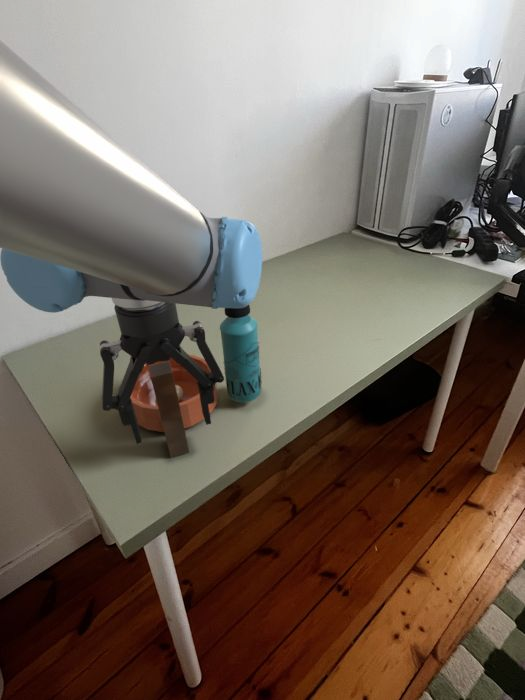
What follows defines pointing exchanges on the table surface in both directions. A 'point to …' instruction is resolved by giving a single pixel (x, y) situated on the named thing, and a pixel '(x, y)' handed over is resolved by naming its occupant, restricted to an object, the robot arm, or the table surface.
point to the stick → (169, 408)
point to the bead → (179, 392)
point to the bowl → (189, 403)
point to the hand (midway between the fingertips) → (173, 427)
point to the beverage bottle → (241, 354)
